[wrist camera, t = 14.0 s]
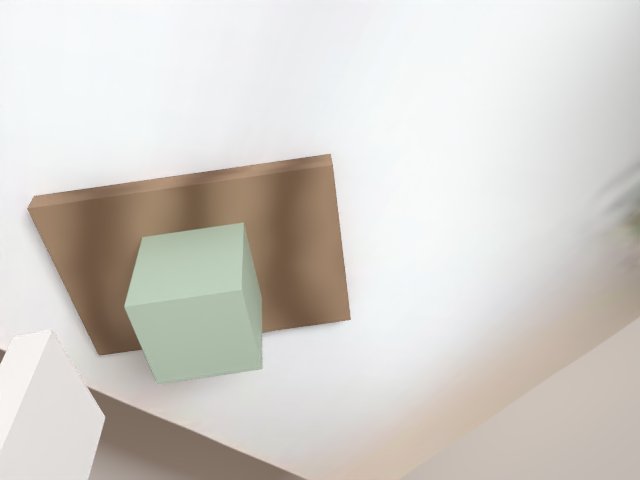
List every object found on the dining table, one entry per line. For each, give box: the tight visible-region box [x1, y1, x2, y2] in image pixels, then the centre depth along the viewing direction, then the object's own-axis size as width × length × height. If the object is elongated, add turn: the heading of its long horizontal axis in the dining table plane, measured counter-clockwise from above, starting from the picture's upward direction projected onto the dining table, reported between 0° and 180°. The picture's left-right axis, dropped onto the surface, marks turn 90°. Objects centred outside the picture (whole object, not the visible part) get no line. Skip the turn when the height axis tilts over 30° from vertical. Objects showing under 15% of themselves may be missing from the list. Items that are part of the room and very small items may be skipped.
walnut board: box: [27, 154, 351, 355], centre depth 44 cm, size 20×14×2 cm
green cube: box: [124, 223, 262, 384], centre depth 41 cm, size 7×7×7 cm
